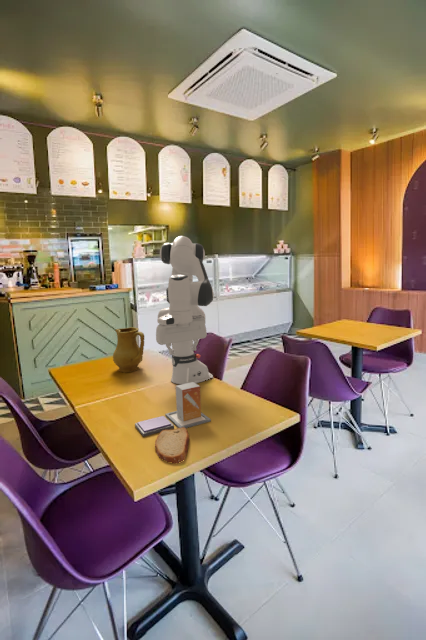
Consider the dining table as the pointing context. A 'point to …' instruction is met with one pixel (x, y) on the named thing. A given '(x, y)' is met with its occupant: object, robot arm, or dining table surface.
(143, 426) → the ink pad
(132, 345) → the pitcher
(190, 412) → the small box
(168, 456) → the bread slice
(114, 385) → the dining table surface
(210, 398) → the dining table surface
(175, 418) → the print frame
